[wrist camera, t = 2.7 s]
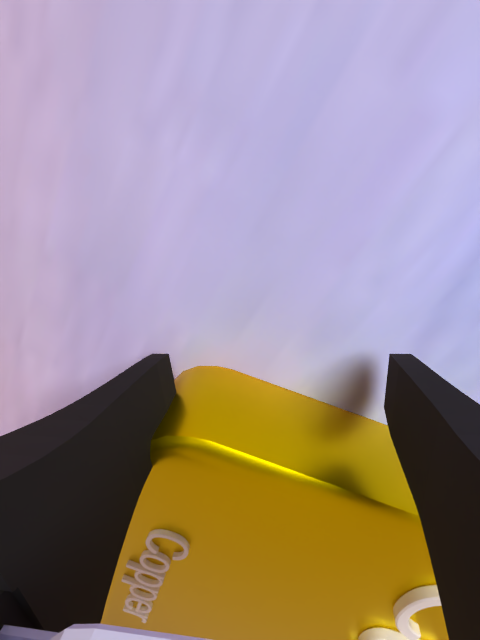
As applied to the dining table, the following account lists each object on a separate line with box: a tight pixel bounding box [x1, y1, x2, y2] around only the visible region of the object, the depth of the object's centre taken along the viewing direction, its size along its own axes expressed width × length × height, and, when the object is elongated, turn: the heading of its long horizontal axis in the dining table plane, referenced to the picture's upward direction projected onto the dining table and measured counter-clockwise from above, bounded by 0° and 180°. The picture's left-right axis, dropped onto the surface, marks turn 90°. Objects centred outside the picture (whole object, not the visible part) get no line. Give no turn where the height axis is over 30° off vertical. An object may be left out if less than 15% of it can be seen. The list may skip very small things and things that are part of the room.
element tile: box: [100, 366, 449, 640], centre depth 15 cm, size 15×15×5 cm
